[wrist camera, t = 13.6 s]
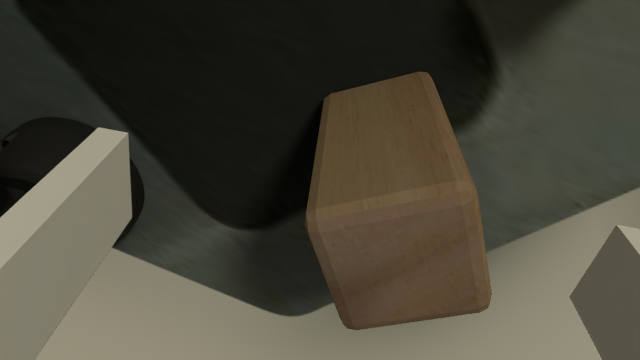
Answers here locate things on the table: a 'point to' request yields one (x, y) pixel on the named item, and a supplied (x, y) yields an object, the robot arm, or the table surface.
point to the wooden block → (395, 208)
